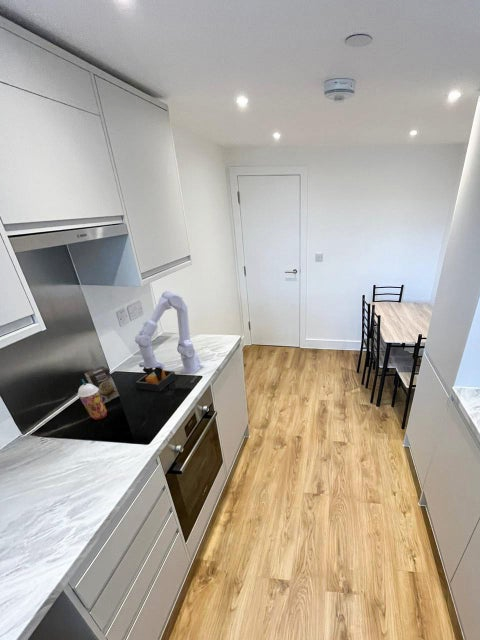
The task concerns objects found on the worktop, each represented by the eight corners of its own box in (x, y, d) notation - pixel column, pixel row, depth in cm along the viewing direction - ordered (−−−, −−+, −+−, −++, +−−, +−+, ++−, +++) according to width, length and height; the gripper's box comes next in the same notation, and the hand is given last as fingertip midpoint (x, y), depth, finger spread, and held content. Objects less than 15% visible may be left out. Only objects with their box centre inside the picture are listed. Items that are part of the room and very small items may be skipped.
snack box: (159, 376, 179) (157, 369, 177) (166, 376, 178) (163, 369, 176) (147, 385, 171) (145, 377, 169) (154, 386, 170) (152, 378, 168)
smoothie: (86, 420, 150) (66, 382, 139) (100, 410, 156) (83, 373, 145) (99, 423, 147) (80, 385, 136) (113, 412, 154) (97, 375, 143)
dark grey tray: (155, 376, 183) (153, 369, 181) (176, 378, 179) (174, 371, 177) (138, 389, 171) (135, 382, 169) (160, 391, 168) (157, 384, 165)
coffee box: (102, 404, 160) (89, 376, 151) (96, 401, 164) (83, 372, 155) (120, 396, 166) (108, 368, 157) (114, 392, 170) (102, 365, 161)
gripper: (131, 358, 165) (140, 381, 173) (155, 360, 162) (163, 384, 169) (140, 353, 171) (148, 375, 178) (164, 354, 167) (171, 377, 175)
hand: (156, 379), depth 174 cm, fingers closed on snack box, 4 cm apart
